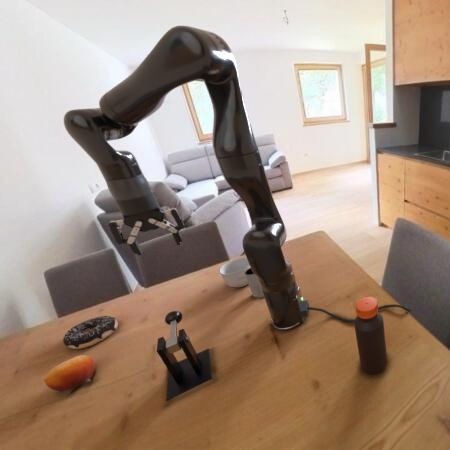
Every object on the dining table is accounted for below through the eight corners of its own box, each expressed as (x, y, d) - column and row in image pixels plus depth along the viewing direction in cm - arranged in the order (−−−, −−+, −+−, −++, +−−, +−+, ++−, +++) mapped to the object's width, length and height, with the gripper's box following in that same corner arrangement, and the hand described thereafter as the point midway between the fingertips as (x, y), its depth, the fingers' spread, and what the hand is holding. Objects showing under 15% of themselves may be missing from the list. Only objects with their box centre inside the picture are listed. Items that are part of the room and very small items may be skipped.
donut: (86, 354, 78) (78, 344, 76) (56, 347, 80) (48, 338, 79) (128, 324, 87) (122, 315, 86) (101, 319, 90) (94, 310, 88)
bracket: (170, 369, 72) (148, 333, 67) (210, 351, 77) (192, 316, 71) (168, 403, 64) (143, 366, 58) (213, 381, 69) (193, 344, 63)
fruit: (58, 403, 64) (35, 376, 63) (61, 399, 69) (40, 374, 68) (104, 375, 70) (85, 349, 69) (104, 373, 75) (86, 349, 74)
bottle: (355, 367, 70) (344, 307, 61) (372, 348, 75) (364, 290, 66) (376, 381, 67) (368, 319, 58) (392, 360, 72) (387, 300, 63)
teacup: (244, 293, 99) (238, 274, 95) (219, 290, 101) (211, 272, 98) (268, 270, 111) (263, 253, 108) (245, 268, 113) (239, 251, 110)
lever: (168, 321, 74) (162, 311, 72) (184, 315, 76) (179, 305, 74) (167, 357, 65) (160, 347, 63) (185, 349, 66) (179, 339, 65)
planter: (269, 293, 98) (262, 269, 94) (258, 300, 95) (249, 276, 90) (262, 289, 100) (254, 265, 96) (250, 296, 97) (241, 272, 93)
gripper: (90, 205, 63) (124, 263, 71) (167, 190, 71) (191, 245, 78) (98, 196, 69) (129, 251, 76) (168, 184, 76) (190, 235, 83)
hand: (160, 248), depth 77 cm, fingers open, 8 cm apart
